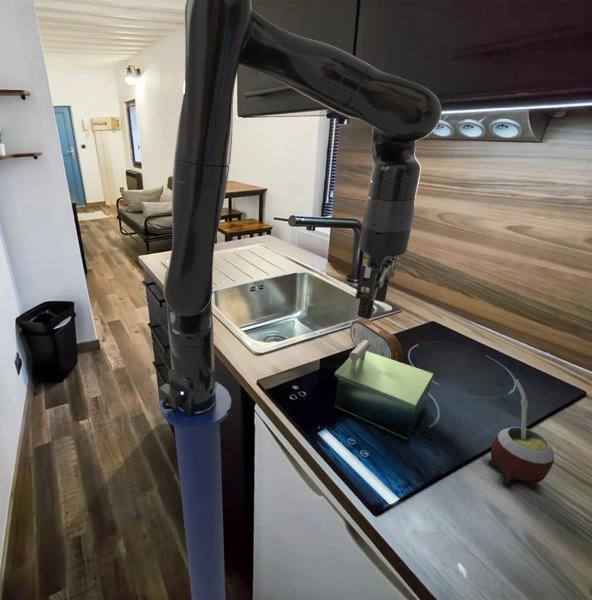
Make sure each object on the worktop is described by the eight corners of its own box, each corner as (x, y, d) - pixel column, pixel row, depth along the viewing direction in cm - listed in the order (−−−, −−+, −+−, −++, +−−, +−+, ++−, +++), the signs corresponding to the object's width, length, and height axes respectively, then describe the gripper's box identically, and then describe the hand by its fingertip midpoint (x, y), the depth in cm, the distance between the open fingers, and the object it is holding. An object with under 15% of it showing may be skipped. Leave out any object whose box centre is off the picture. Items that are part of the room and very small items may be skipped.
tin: (399, 371, 85) (406, 340, 81) (388, 374, 84) (395, 343, 80) (356, 339, 98) (360, 312, 94) (346, 342, 97) (350, 314, 94)
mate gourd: (532, 503, 55) (570, 428, 48) (471, 468, 61) (498, 398, 54) (546, 476, 59) (584, 404, 52) (488, 446, 64) (515, 378, 58)
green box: (333, 408, 75) (338, 378, 72) (356, 381, 82) (361, 352, 79) (406, 442, 66) (414, 409, 63) (424, 408, 74) (432, 377, 70)
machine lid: (334, 376, 72) (337, 355, 70) (357, 351, 80) (360, 331, 77) (414, 408, 63) (421, 385, 61) (432, 377, 70) (438, 355, 68)
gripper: (376, 213, 69) (363, 291, 76) (349, 230, 60) (337, 317, 67) (420, 217, 65) (403, 300, 72) (399, 236, 55) (381, 329, 62)
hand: (371, 308), depth 69 cm, fingers open, 8 cm apart
